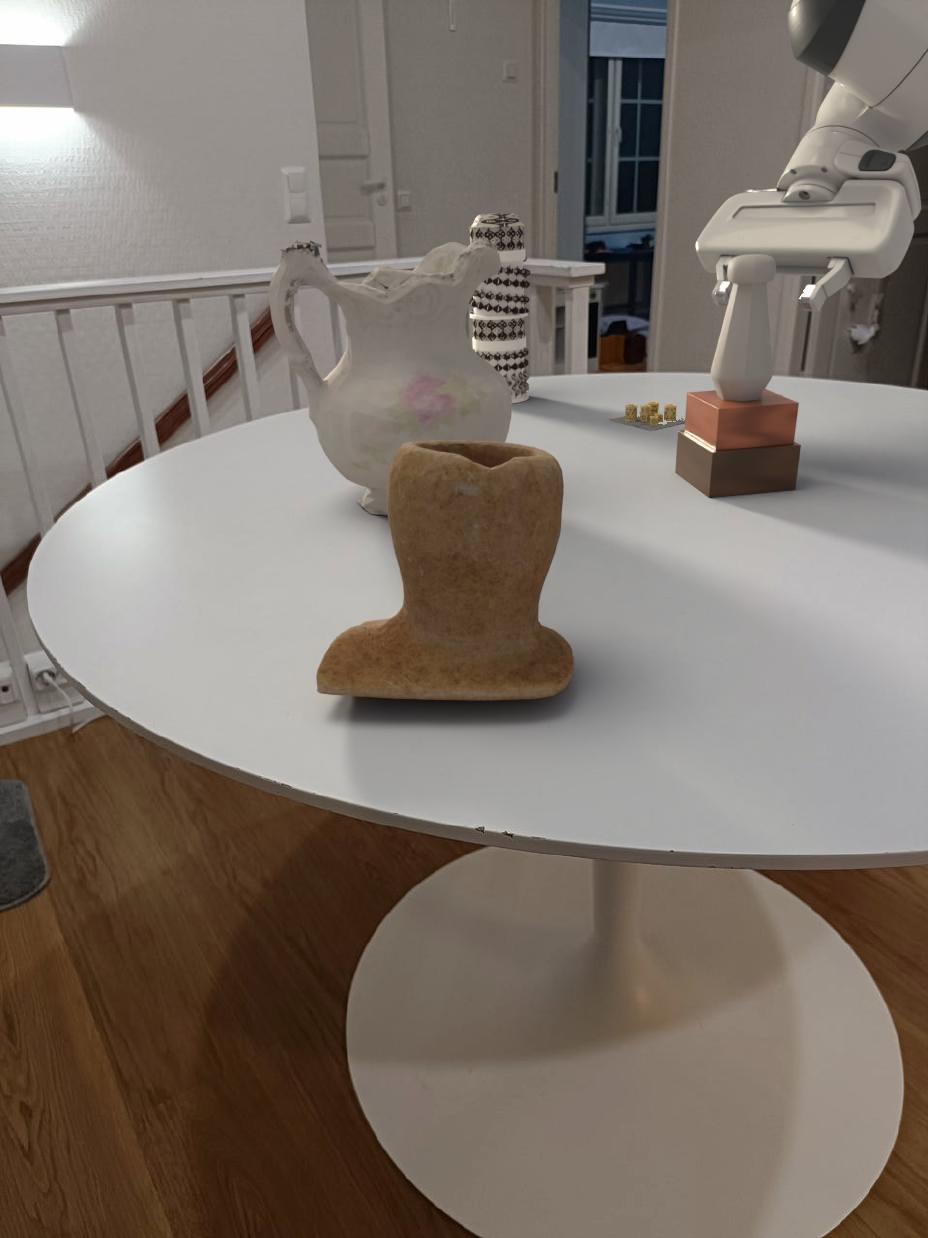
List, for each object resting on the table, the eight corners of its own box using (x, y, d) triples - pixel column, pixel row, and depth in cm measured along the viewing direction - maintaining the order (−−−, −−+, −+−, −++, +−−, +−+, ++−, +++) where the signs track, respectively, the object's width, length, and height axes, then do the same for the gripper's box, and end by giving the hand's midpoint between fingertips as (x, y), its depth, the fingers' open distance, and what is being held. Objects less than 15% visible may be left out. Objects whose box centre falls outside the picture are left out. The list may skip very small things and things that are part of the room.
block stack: (754, 465, 95) (763, 385, 91) (795, 489, 87) (806, 403, 83) (675, 472, 94) (680, 391, 90) (708, 497, 86) (716, 410, 82)
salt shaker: (697, 398, 87) (707, 256, 81) (730, 388, 90) (742, 251, 85) (749, 405, 83) (763, 257, 77) (781, 395, 86) (798, 252, 81)
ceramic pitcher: (352, 563, 77) (333, 259, 65) (265, 494, 91) (236, 233, 79) (546, 511, 88) (561, 241, 75) (442, 456, 102) (440, 222, 89)
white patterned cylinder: (464, 394, 134) (457, 214, 123) (523, 389, 136) (521, 211, 125) (475, 407, 126) (469, 215, 115) (538, 401, 128) (537, 212, 117)
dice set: (622, 419, 116) (623, 405, 115) (651, 413, 118) (651, 399, 117) (650, 426, 112) (650, 411, 111) (678, 420, 114) (679, 405, 113)
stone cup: (573, 632, 61) (576, 416, 54) (574, 726, 50) (578, 471, 44) (359, 630, 63) (337, 420, 56) (316, 720, 52) (283, 474, 46)
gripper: (723, 167, 90) (659, 277, 89) (927, 154, 76) (856, 285, 75) (743, 212, 95) (683, 318, 93) (939, 208, 81) (872, 333, 79)
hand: (761, 304), depth 84 cm, fingers open, 8 cm apart
